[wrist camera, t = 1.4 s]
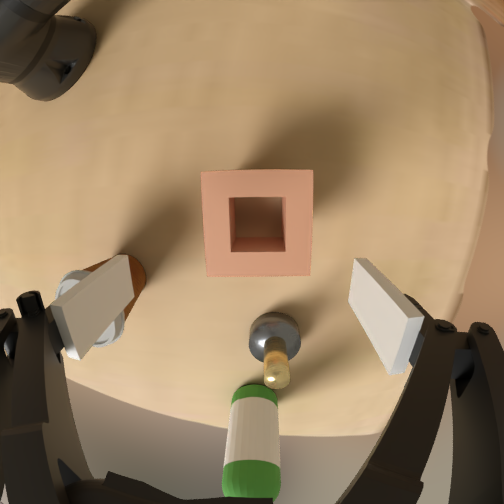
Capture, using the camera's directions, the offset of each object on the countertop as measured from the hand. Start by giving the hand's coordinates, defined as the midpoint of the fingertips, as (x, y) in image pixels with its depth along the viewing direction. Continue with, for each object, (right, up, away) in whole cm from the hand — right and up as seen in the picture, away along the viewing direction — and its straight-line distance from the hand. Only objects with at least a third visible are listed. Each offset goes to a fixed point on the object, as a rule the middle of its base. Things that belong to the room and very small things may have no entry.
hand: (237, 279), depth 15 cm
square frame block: (+1, +5, +12) cm, 13 cm away
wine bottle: (+1, -23, +28) cm, 36 cm away
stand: (+2, +7, +18) cm, 19 cm away
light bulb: (+4, -10, +23) cm, 25 cm away
